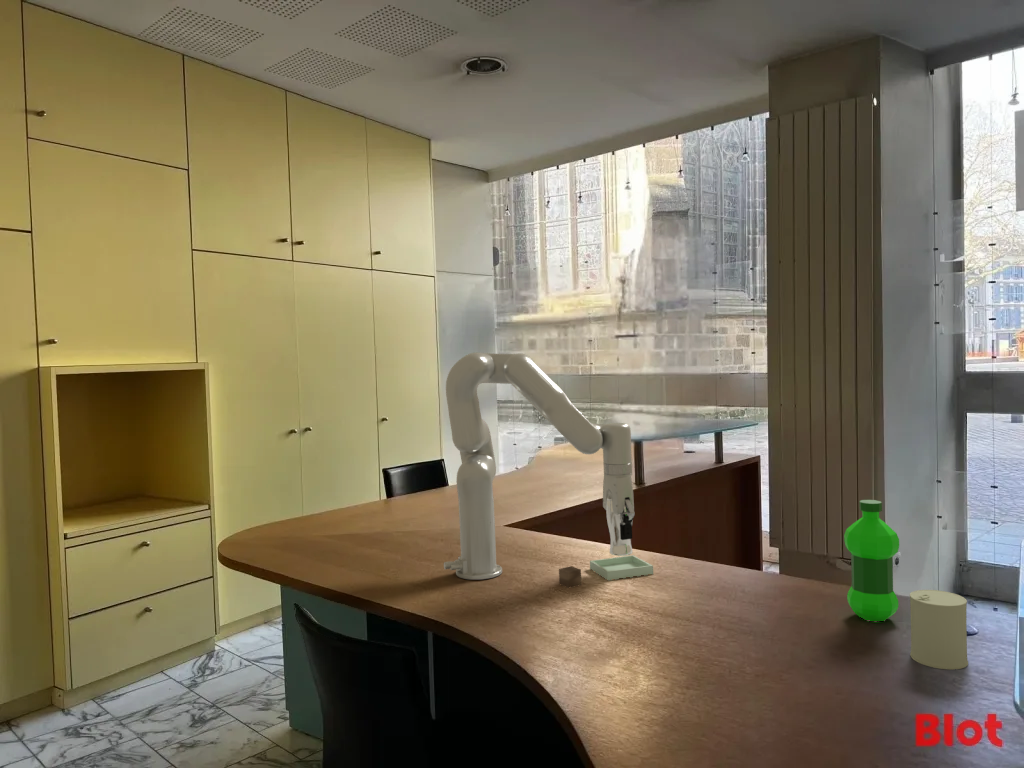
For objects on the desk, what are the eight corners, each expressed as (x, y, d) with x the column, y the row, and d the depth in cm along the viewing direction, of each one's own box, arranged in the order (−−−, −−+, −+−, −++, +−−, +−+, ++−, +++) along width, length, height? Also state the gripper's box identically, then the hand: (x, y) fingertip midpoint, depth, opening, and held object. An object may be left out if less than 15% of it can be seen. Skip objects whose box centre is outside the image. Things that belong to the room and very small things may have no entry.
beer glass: (633, 556, 192) (631, 499, 192) (607, 556, 194) (604, 499, 193) (634, 549, 199) (632, 494, 198) (608, 549, 200) (606, 494, 200)
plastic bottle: (898, 629, 149) (896, 508, 149) (842, 621, 155) (840, 504, 154) (902, 614, 158) (900, 499, 157) (849, 607, 164) (846, 495, 163)
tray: (607, 580, 189) (607, 571, 189) (590, 569, 200) (589, 560, 200) (653, 574, 193) (653, 565, 193) (633, 563, 204) (633, 555, 204)
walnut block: (568, 588, 184) (568, 572, 184) (559, 584, 188) (558, 568, 188) (581, 585, 187) (580, 569, 186) (571, 581, 190) (571, 566, 190)
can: (899, 651, 139) (898, 588, 139) (945, 647, 140) (944, 585, 140) (931, 671, 130) (930, 604, 130) (980, 667, 131) (979, 601, 130)
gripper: (591, 466, 203) (594, 530, 203) (619, 475, 186) (622, 545, 187) (616, 464, 205) (618, 528, 205) (645, 472, 188) (648, 541, 189)
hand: (620, 535), depth 196 cm, fingers closed on beer glass, 6 cm apart
